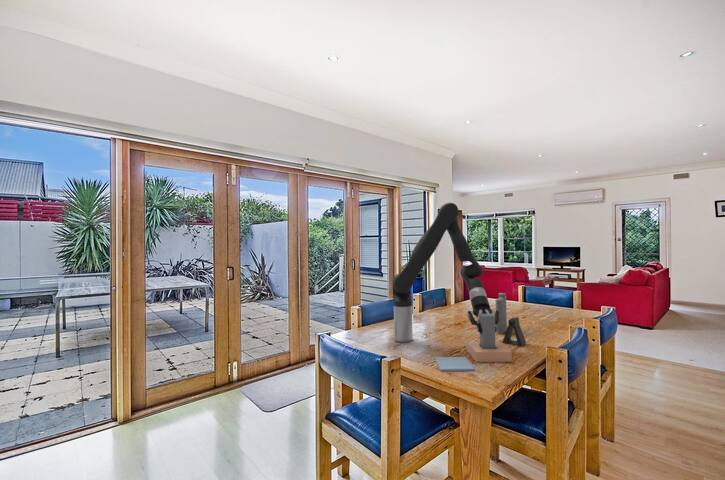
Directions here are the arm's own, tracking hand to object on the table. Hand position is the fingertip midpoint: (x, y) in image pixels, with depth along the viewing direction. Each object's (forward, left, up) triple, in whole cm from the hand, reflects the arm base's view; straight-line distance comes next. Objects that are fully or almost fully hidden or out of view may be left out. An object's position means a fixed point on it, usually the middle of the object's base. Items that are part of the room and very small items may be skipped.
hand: (488, 332), depth 146 cm
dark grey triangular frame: (+18, +18, -10) cm, 27 cm away
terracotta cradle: (0, +1, -10) cm, 10 cm away
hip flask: (+21, +41, -10) cm, 47 cm away
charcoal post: (0, +1, -7) cm, 7 cm away
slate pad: (-17, -9, -10) cm, 22 cm away
